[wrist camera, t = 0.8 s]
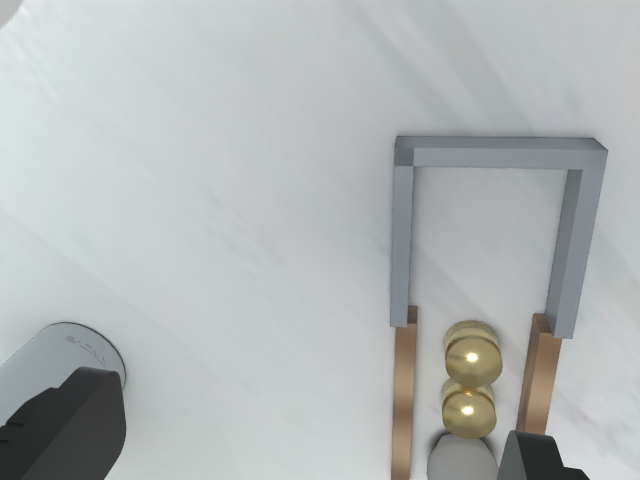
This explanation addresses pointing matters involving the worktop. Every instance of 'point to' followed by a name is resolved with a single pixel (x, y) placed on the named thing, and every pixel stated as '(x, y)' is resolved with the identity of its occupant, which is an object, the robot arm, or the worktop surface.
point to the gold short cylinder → (468, 410)
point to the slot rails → (532, 397)
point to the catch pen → (507, 152)
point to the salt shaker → (461, 460)
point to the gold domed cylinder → (472, 354)
